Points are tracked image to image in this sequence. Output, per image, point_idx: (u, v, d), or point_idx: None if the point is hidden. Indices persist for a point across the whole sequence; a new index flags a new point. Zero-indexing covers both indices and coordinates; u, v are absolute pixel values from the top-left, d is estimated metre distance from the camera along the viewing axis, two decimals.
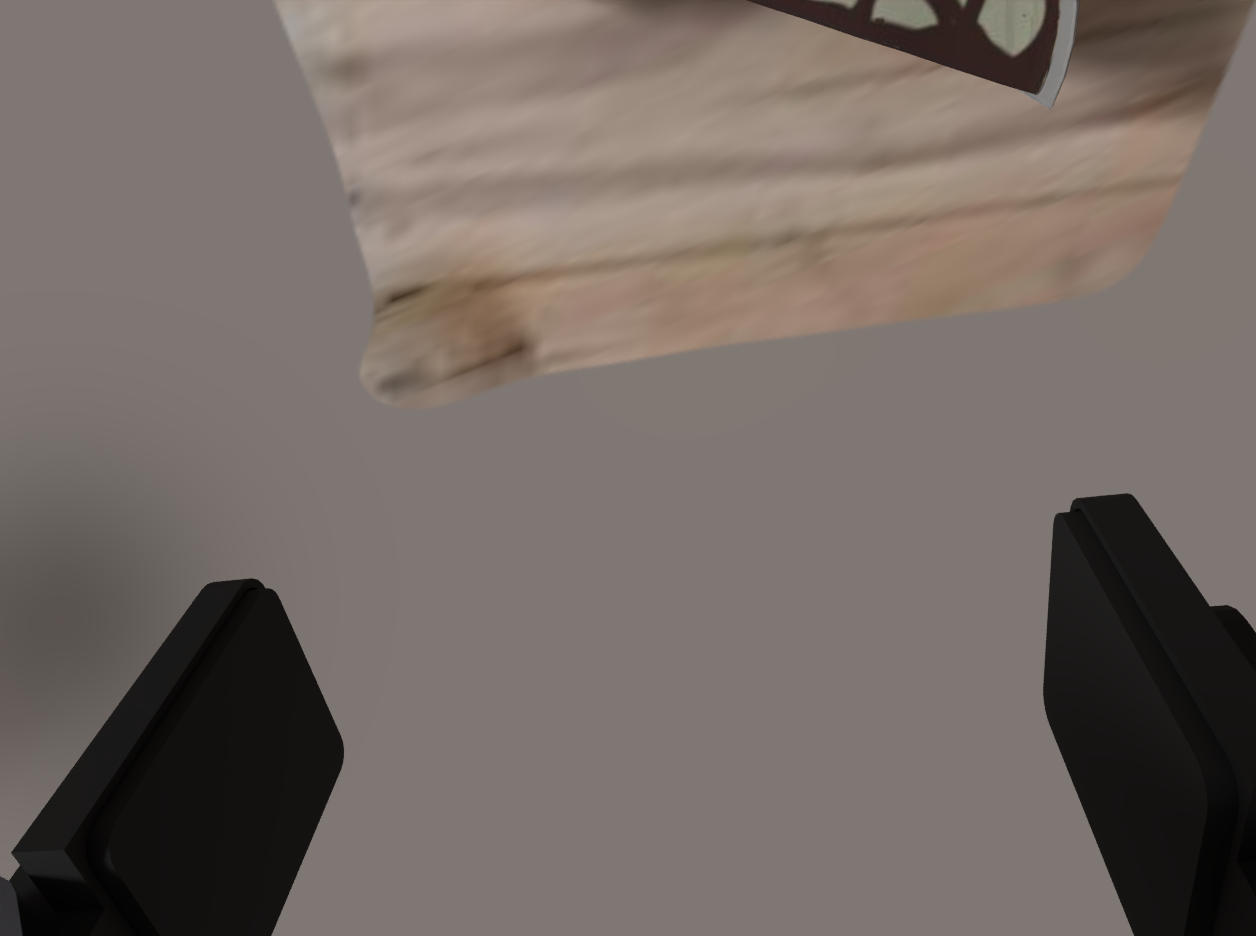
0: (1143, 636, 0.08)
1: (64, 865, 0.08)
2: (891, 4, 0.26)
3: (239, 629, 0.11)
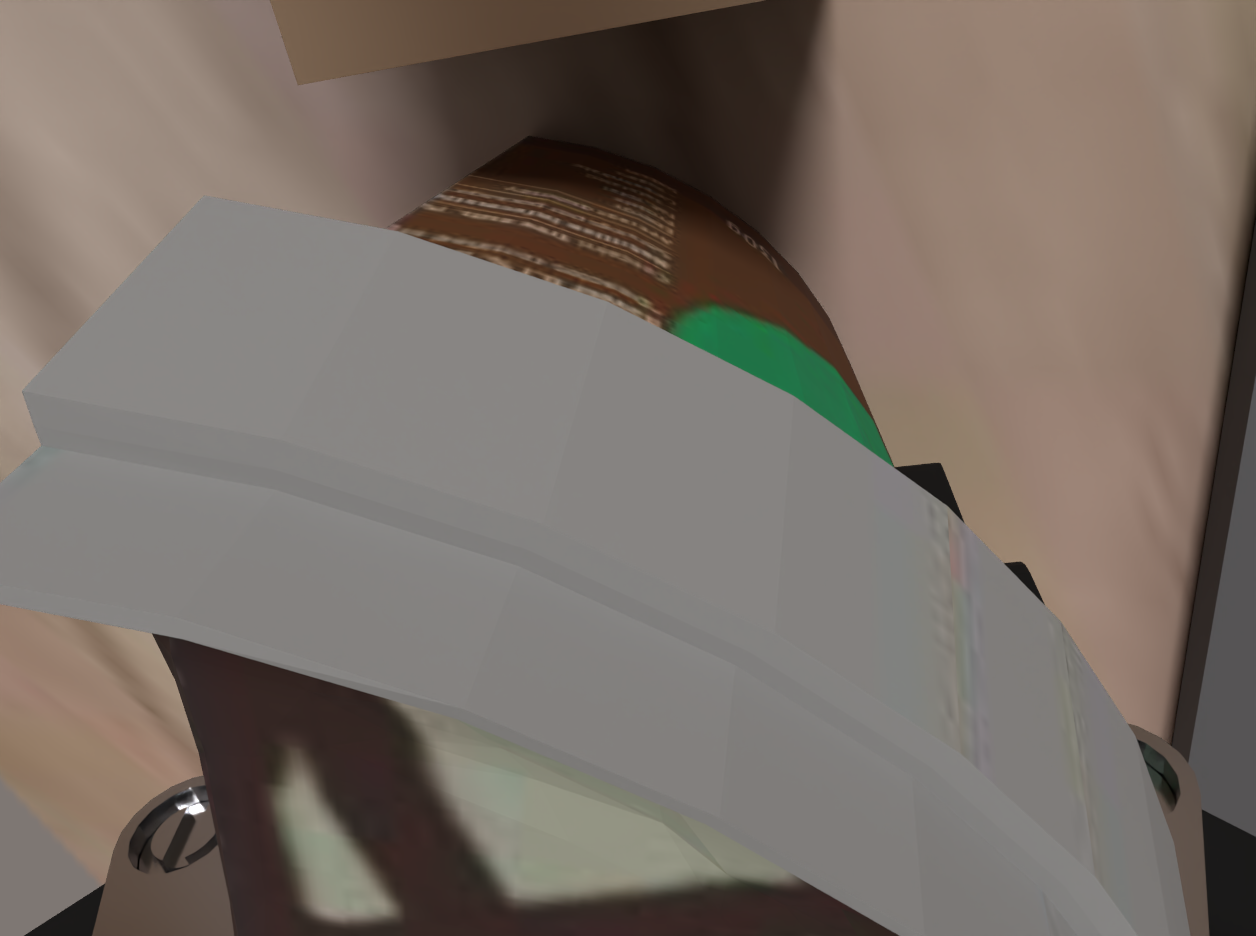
0: None
1: None
2: None
3: None
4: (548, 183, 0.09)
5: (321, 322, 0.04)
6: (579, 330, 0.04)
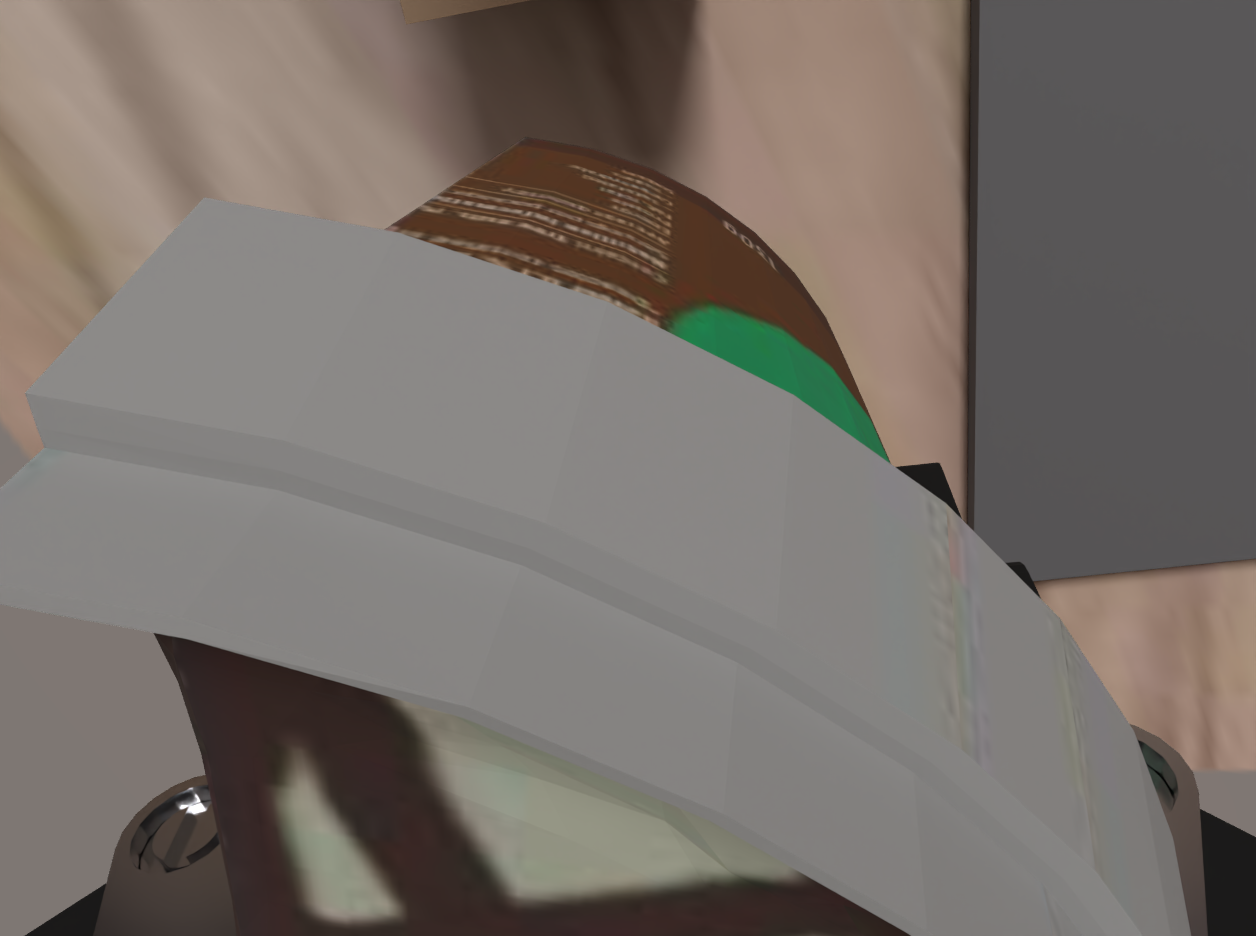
0: None
1: None
2: None
3: None
4: (545, 184, 0.09)
5: (322, 322, 0.04)
6: (579, 329, 0.04)
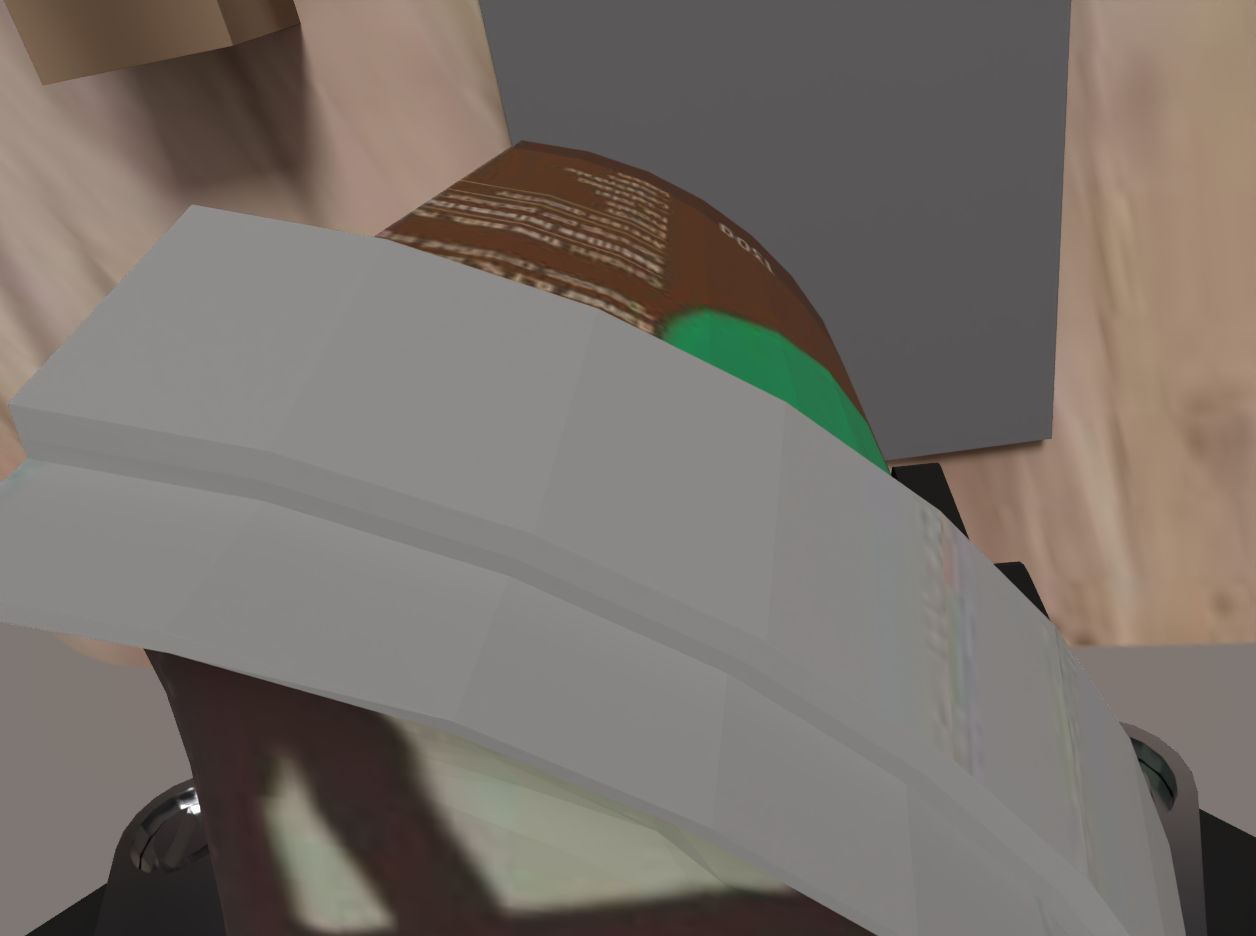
0: None
1: None
2: None
3: None
4: (540, 188, 0.09)
5: (309, 331, 0.04)
6: (569, 337, 0.04)
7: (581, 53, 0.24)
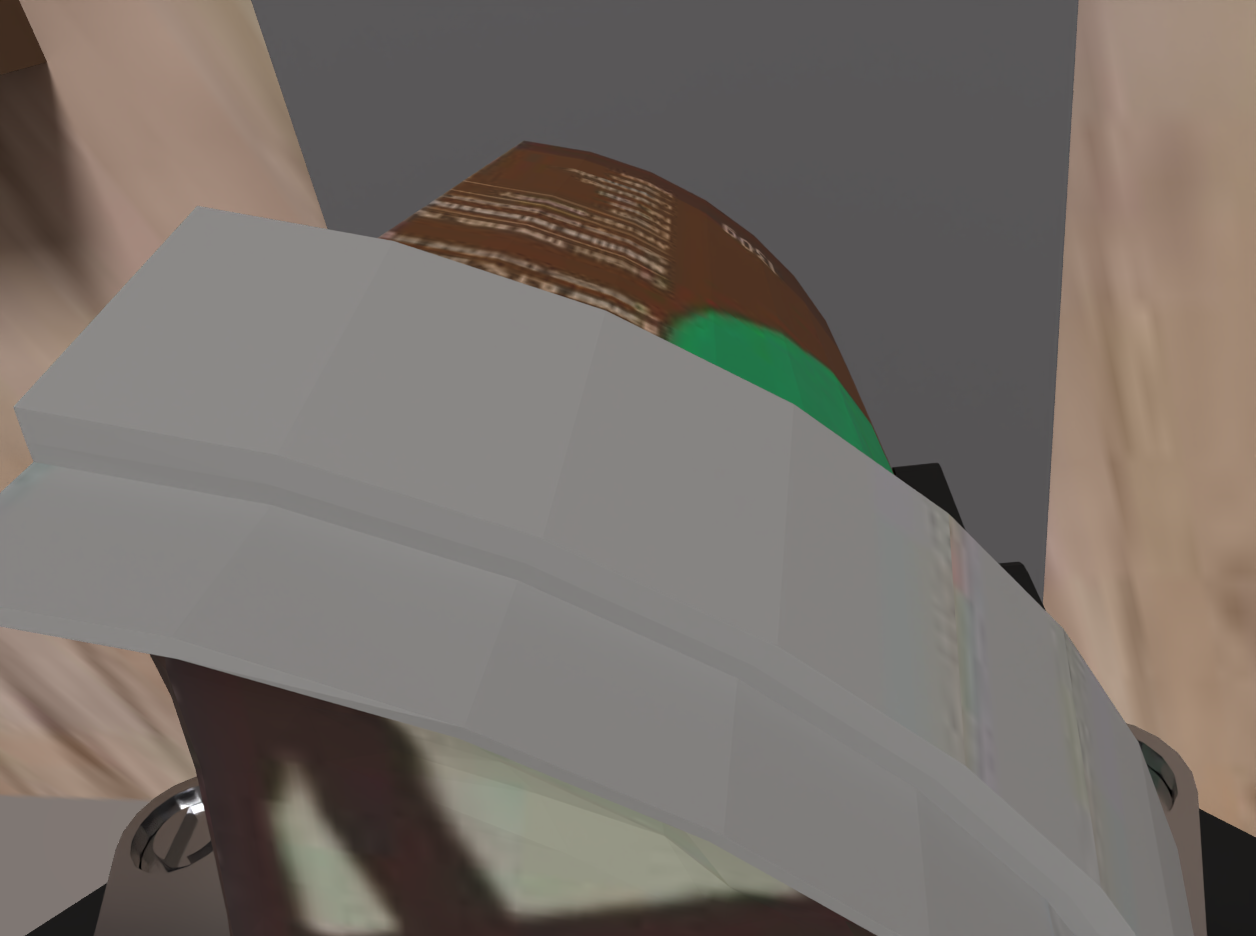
0: None
1: None
2: None
3: None
4: (544, 188, 0.09)
5: (317, 333, 0.04)
6: (577, 339, 0.04)
7: (406, 111, 0.18)
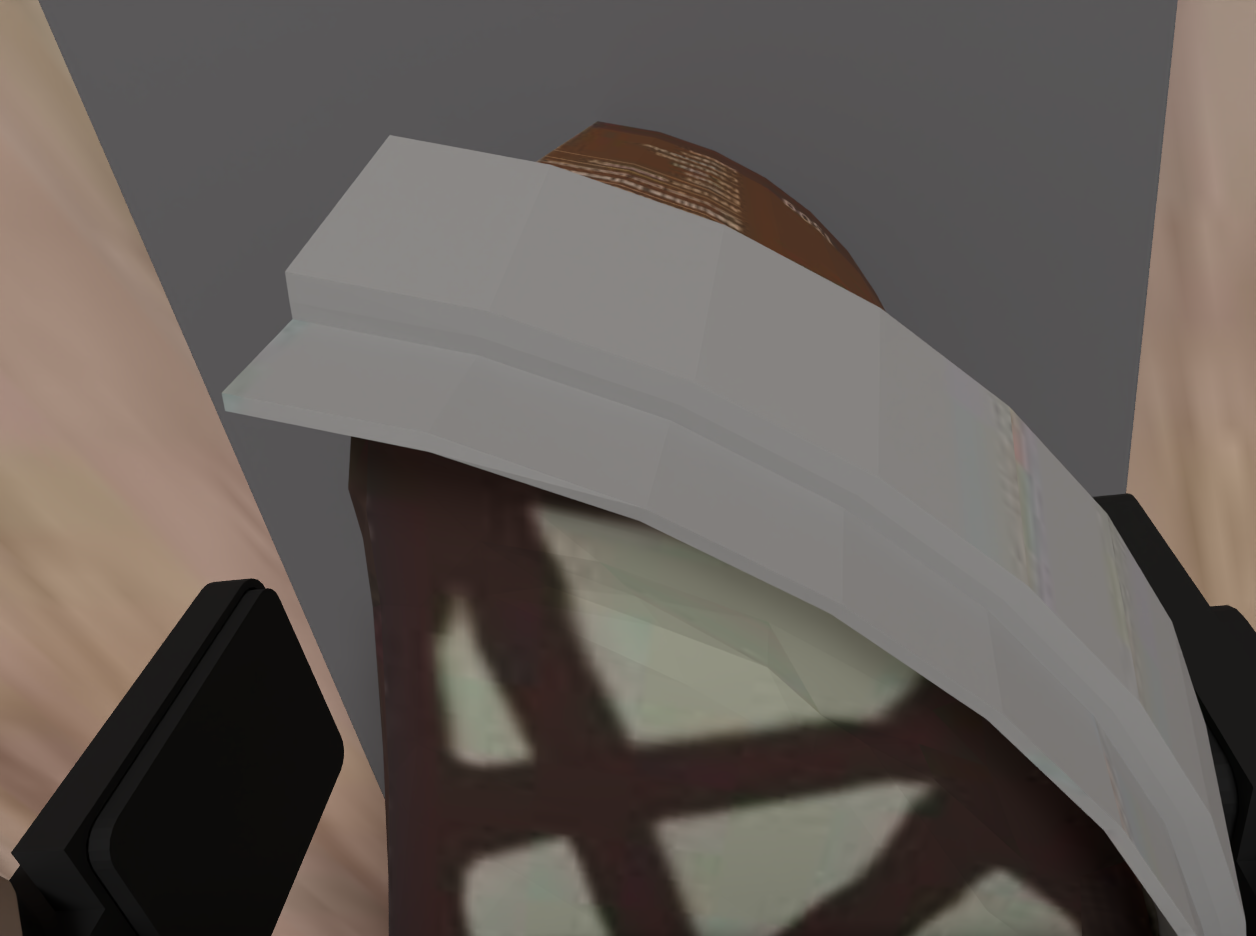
0: None
1: (64, 865, 0.08)
2: None
3: (239, 629, 0.11)
4: (625, 158, 0.10)
5: (502, 229, 0.05)
6: (704, 245, 0.05)
7: (278, 199, 0.14)
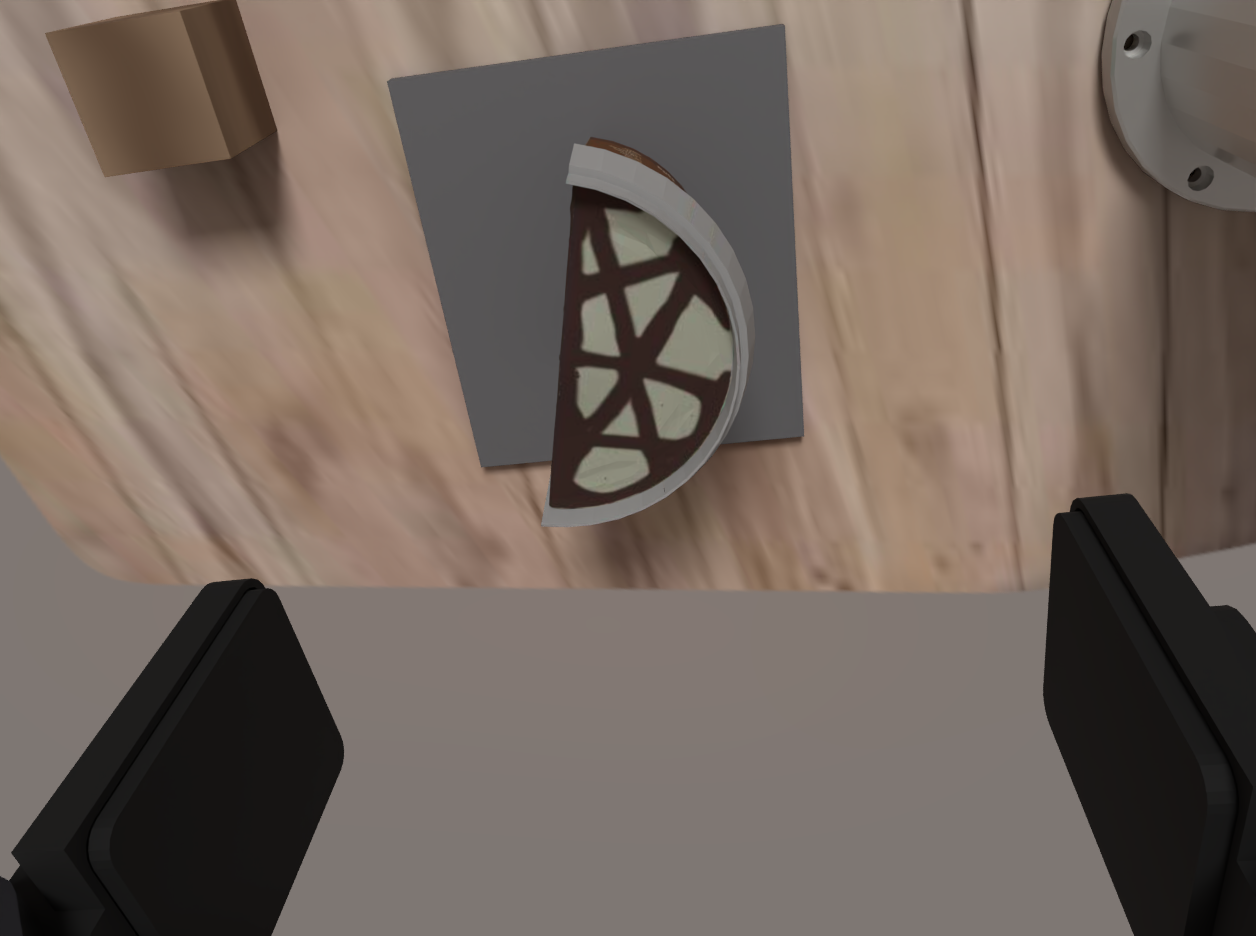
0: (1143, 636, 0.08)
1: (64, 865, 0.08)
2: (591, 379, 0.29)
3: (239, 629, 0.11)
4: (605, 149, 0.32)
5: (599, 160, 0.27)
6: (633, 164, 0.27)
7: (467, 162, 0.36)
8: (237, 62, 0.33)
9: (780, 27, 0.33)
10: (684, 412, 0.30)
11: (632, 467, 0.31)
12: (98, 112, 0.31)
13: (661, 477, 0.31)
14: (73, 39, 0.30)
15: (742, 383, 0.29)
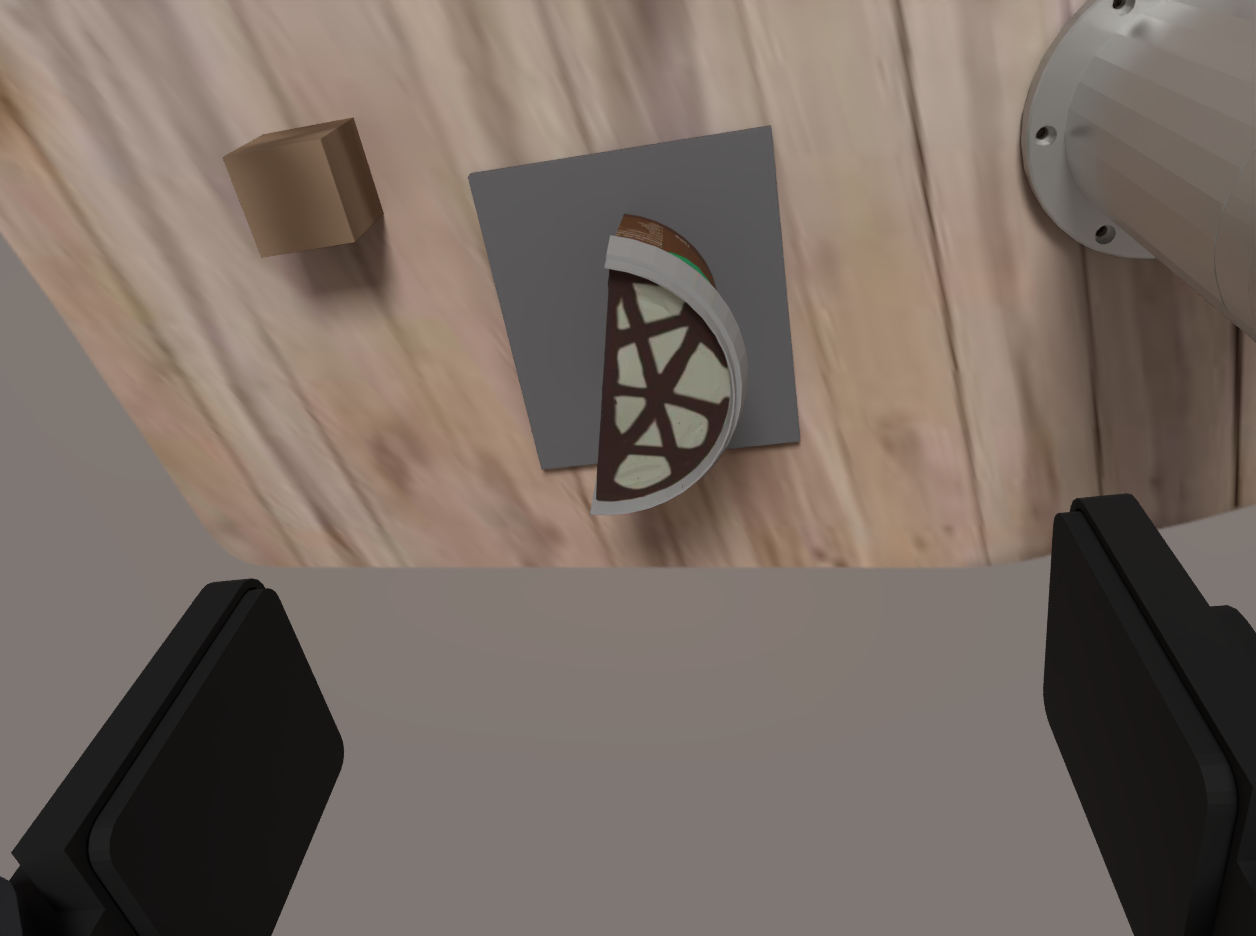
0: (1143, 636, 0.08)
1: (64, 865, 0.08)
2: (626, 405, 0.40)
3: (239, 629, 0.11)
4: (635, 228, 0.43)
5: (628, 248, 0.37)
6: (653, 249, 0.37)
7: (529, 234, 0.46)
8: (356, 167, 0.44)
9: (768, 129, 0.43)
10: (696, 428, 0.40)
11: (658, 469, 0.41)
12: (258, 212, 0.42)
13: (680, 477, 0.42)
14: (242, 160, 0.41)
15: (738, 406, 0.39)
